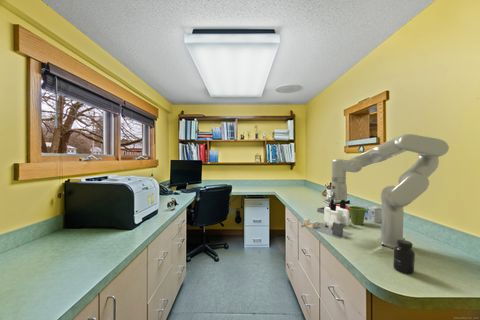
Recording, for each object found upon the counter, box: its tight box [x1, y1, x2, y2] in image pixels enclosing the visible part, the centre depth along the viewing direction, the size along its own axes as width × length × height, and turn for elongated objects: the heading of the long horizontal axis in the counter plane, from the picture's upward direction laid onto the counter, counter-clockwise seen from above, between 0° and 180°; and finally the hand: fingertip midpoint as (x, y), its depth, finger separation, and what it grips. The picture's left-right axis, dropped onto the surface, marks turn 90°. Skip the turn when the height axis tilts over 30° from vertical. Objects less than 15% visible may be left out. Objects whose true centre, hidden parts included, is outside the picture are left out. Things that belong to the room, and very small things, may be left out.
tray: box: [317, 205, 351, 219], centre depth 176 cm, size 24×28×3 cm
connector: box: [332, 221, 344, 237], centre depth 122 cm, size 4×4×8 cm
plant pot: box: [348, 205, 367, 226], centre depth 148 cm, size 12×12×11 cm
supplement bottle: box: [392, 239, 416, 275], centre depth 86 cm, size 7×7×12 cm
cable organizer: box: [323, 206, 350, 227], centre depth 144 cm, size 15×11×12 cm
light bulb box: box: [362, 204, 382, 224], centre depth 156 cm, size 11×7×11 cm, turn 17°
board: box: [300, 218, 353, 240], centre depth 131 cm, size 27×14×5 cm, turn 33°
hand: (338, 209), depth 122 cm, fingers open, 9 cm apart
